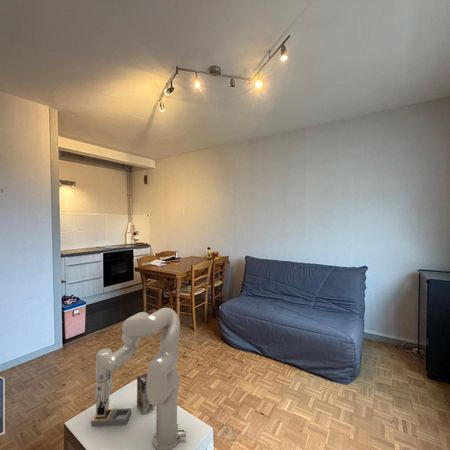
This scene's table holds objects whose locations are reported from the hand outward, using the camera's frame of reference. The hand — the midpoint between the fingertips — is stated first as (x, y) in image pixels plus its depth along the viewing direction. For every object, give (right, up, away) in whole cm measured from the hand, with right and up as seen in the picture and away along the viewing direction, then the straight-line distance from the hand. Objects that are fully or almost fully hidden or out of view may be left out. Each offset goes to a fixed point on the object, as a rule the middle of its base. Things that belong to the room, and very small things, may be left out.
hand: (102, 410), depth 125 cm
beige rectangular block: (-1, -3, 0) cm, 3 cm away
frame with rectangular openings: (+5, -5, 0) cm, 7 cm away
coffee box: (+19, -5, +9) cm, 22 cm away
